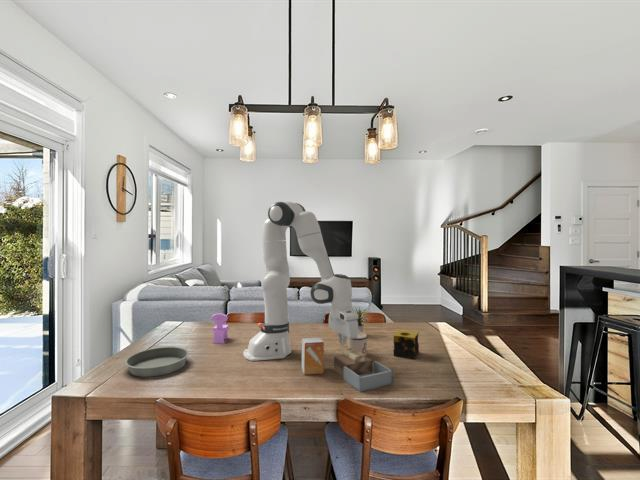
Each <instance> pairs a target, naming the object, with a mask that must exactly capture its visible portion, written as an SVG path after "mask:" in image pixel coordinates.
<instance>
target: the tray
mask: <svg viewBox="0 0 640 480" xmlns="http://www.w3.org/2000/svg"><path fill="white" fill-rule="evenodd" d="M394 373H395V372H394V370H393V369H390V367H388V366H385V365H384V364H382V363H380V362H379V361H377V360H374V361H373V372H371V373H366V374H361V375H357V374H356V373H355V372H353V371H352V370H350V369H349V368H347V367H346V366H345V367H344V376H343V381H344V382H346V383H347V384H348V385H350V386H351V387H352V388H354V389H355V390H356V391H358V393H362V392H366V391H370V390H375V389H379V388H382V387H387V386H390V385H391V386H392V385H394Z"/></svg>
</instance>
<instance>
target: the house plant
mask: <svg viewBox="0 0 640 480" xmlns="http://www.w3.org/2000/svg"><path fill="white" fill-rule="evenodd" d="M354 308H355V310H356V311H355V312H356V313H357V314H358V319H356V320H357V321H358V329H359V330H360V332H362V333H364V328H365V327H364V325H365V324H364V323H366V322H367V320H368V319H366V318H368V316H367V315H366V314H367V313H369V312H371V311H370V310H368V309H370V308H365V309H363V310H361V308H360V307H358V309H357V307H356V306H354ZM367 310H368V311H367ZM365 315H366V316H365ZM364 316H365V317H364Z"/></svg>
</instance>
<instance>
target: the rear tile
mask: <svg viewBox="0 0 640 480" xmlns="http://www.w3.org/2000/svg"><path fill="white" fill-rule="evenodd" d="M353 352H358V351H356V350H355V349H353V348H349V349H348V348H343V349H342V355H343V356H345V357H346V358H348V359H349V353H353Z"/></svg>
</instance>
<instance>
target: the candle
mask: <svg viewBox="0 0 640 480" xmlns="http://www.w3.org/2000/svg"><path fill="white" fill-rule="evenodd" d="M392 338H393V357H396V358H397V357H398V358H404V359H411V360H416V358H417V357H418V354H419V353H420V350H419V348H420V345H419V331H409V330H402V329H401V330H400V329H397V330H396V332H395V333H394V334H393V336H392Z"/></svg>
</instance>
